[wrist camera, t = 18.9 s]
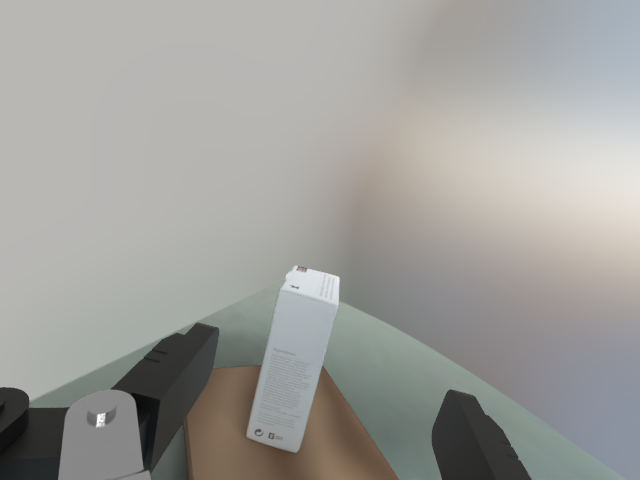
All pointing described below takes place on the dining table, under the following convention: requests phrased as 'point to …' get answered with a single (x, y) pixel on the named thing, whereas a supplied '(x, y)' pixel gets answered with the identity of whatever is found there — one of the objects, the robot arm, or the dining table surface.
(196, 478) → the walnut board
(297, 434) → the skincare box
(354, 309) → the dining table surface
